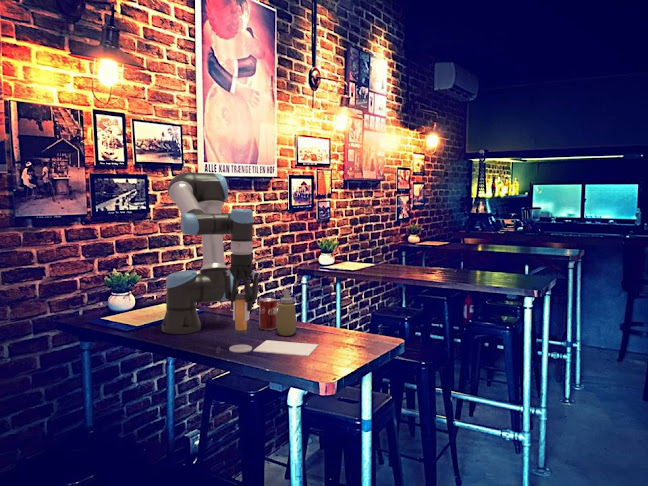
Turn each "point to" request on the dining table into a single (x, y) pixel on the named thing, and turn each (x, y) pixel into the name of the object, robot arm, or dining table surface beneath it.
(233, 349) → the coaster
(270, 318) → the soda can
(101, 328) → the dining table surface
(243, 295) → the thermos bottle
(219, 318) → the dining table surface
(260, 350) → the paper
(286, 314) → the squeeze bottle
